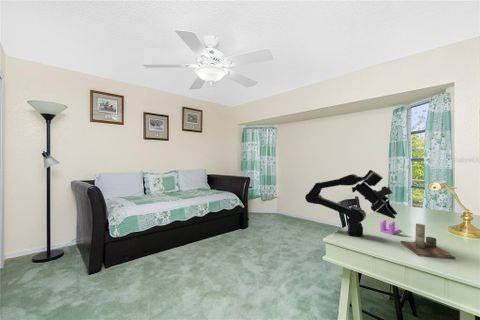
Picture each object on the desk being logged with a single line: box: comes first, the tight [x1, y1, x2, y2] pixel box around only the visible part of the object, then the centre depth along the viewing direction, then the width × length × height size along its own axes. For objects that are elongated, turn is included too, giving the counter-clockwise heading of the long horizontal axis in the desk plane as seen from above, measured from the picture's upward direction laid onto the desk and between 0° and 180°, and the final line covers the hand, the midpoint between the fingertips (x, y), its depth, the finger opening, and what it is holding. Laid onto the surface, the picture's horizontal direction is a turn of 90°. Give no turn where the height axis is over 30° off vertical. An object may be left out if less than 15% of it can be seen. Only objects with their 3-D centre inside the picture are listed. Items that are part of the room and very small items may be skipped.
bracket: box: [380, 218, 401, 236], centre depth 122 cm, size 13×6×7 cm, turn 123°
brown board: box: [400, 240, 456, 260], centre depth 97 cm, size 13×15×1 cm
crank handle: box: [414, 223, 437, 248], centre depth 98 cm, size 10×4×10 cm, turn 106°
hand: (395, 216), depth 104 cm, fingers open, 9 cm apart
